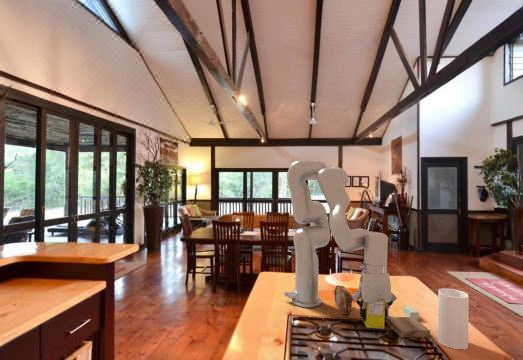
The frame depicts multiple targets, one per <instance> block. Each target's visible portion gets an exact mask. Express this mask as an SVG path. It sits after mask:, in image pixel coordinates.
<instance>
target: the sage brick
mask: <svg viewBox="0 0 523 360" xmlns="http://www.w3.org/2000/svg"><path fill="white" fill-rule="evenodd" d="M402 314H404V316H405V317H414V318H415V319H416V320H417V321H419V311H417V310H416V309H415V307H413V306H411V305H402Z"/></svg>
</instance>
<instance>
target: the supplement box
mask: <svg viewBox="0 0 523 360" xmlns="http://www.w3.org/2000/svg"><path fill="white" fill-rule="evenodd" d="M365 309H366V321H364V320H363V319H362V322H363V325H364V326H365V329H366V330H369V331H383V332H384V331H385V323H386V321H385V299H376V301H375V303H367V305H366V307H365Z"/></svg>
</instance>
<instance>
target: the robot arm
mask: <svg viewBox="0 0 523 360" xmlns="http://www.w3.org/2000/svg"><path fill="white" fill-rule="evenodd" d="M286 174H287V175H286V179H287V184H288V189H289V191H290V193H289V194H290V199H291V206H292V213H293V214H292V215H293V218H294V220H295V222H296V223H298V224H299V225H300V224H303V225H304V224H305V225H306V224H309V226H304V227H300V228H298V229H297V230H296V231H295V232H294V235H293V245H294V250H295V251H294V252H295V253H294V254H295V278H294V279H295V281H294V282H295V283H294V285H295V288H293V290H291V291H283V294H284V295H283V296H284V297H287V298H288V299H291V303H292V304H294V306H297V307H302V308H308V309H309V308H315V307H316V308H317V307H319V306H321V305H322V303H323V302H322V298H321V297H320V296H319V257H318V254H317V251H316V249H318V248H324V247H326V246H327V245H328V244H329V242H330V240H331V235H332V236H333V239H334V241H335V243H336V245H337V246H338V247H339V248H340V250H342V251H344V252H346V253H351V252H354V251H355V252H356V251H359V250H363V251H364V252H363V256H364V257H363V263H362V264H360V265H359V268H360V269H361V270H362V271H361V273H360V277H359V283H358V284H359V285H358V289H357V290H356V291H355V292H354V293H353V294H352V295H351V298H352V301H354V302H355V303H356V304H357V306H359V317H360V318H361V319H362V321H363V320H364V321H366V309H365V307H366V305H367V303H375V301H376V299H385V322H386V319H387V313H388V309H389V310H390V307H391V306H392V305H393V303H394V302H395V301H397V299H398V297H397V296H396V295H395V294H394V293H393V292H392V285H391V283H392V282H391V276H390V273H389V272H388V247H389V246H388V245H389V244H388V243H389V241H388V239H389V238H388V236H387V234H385V233H382V232H377V231H370V230H368V229H365V228H359V227H358V228H353V229H350V227H349V225H348V221H347V219H346V212H347V211H346V210H347V208H348V207H349V205H350V203H351V198H350V196H349V194H348V192H347V190H346V188H345V187H346V186H347V185H348V183H349V175H348V173H347V171H346V170H345V169H343V168H342V167H338V166H336V165H333V164H329V163H327V162H325V161H322V160H321V161H320V160H310V159H300V160H296V161H294V162H292V163H291V164H290V166H289V167H288V170H287V173H286ZM306 181H317V184H318V185H319V188H320V190H321V192H322V194H323V196H324V199H325V201H326V203H327V205H328V208H329V214H328V213H327V210H326V207H325V205H324V204H323V203H322V202H320V201H317V200H312V196H311V195H312V194H311V190H310V187H309V185H308V184H307V183H306ZM358 298H360V300H359V299H358Z"/></svg>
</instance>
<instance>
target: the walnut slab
mask: <svg viewBox="0 0 523 360" xmlns="http://www.w3.org/2000/svg"><path fill="white" fill-rule="evenodd" d="M385 323H386V324H387V326H389V327H390V328H391V329H392V330H393V331H394V330H395V331H396V332H395V331H394V332H395V333H396V335H398V336H399V337H400V338H417V337H418V338H420V337H421V338H422V337H423V338H426V337H431V330H430V329H428V328H427V327H426V326H425V325H424V324H422V323H421V322H420V321H419V320H416V319H415V318H414V317H407V316H393V317H392V316H391V317H390V316H389V317H387V319H386V321H385Z"/></svg>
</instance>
